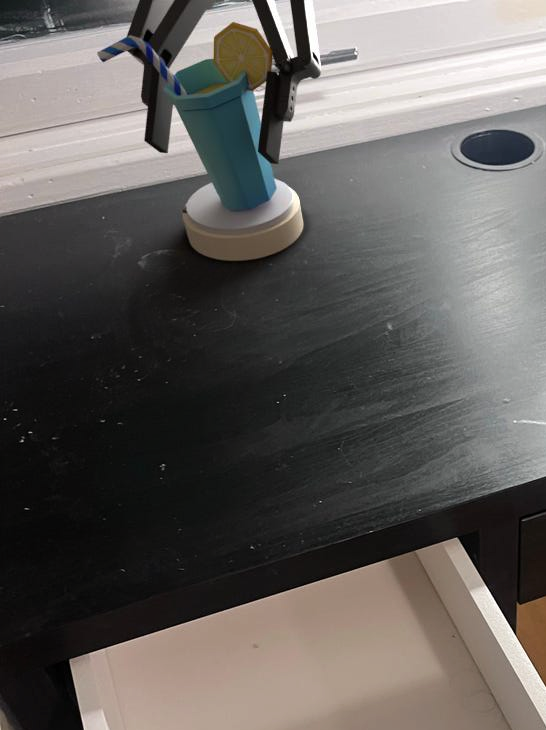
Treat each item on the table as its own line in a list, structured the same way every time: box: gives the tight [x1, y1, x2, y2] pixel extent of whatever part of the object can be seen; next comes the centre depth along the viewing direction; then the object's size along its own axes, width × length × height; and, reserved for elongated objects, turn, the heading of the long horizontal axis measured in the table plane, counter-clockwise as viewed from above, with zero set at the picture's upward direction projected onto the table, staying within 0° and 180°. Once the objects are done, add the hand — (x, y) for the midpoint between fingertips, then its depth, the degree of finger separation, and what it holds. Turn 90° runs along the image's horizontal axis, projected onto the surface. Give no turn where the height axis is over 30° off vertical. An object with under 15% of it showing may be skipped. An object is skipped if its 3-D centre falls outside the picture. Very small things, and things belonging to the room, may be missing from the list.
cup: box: [96, 21, 277, 210], centre depth 87 cm, size 14×8×15 cm, turn 101°
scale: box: [181, 178, 304, 262], centre depth 94 cm, size 11×11×3 cm
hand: (211, 152), depth 86 cm, fingers open, 10 cm apart
